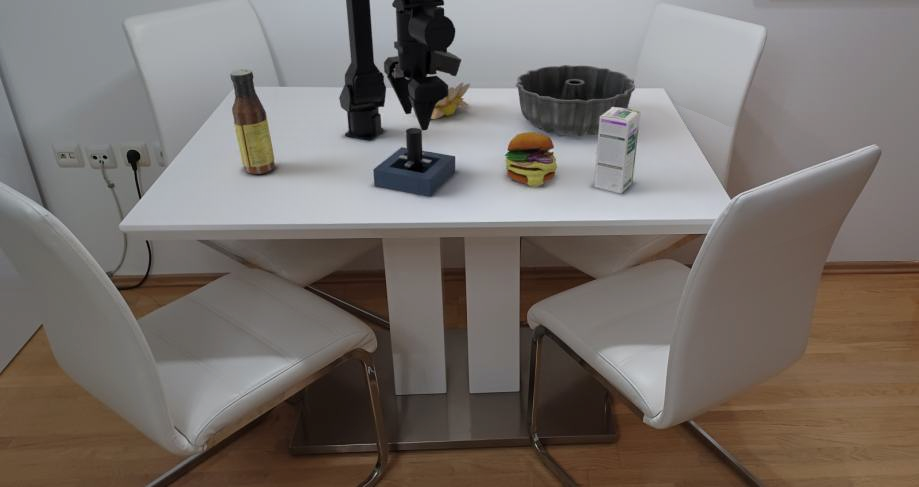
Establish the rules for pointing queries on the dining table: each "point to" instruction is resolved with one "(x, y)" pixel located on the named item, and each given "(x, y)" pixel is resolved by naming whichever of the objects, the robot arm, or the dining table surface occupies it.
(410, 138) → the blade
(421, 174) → the blue square frame
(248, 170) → the sauce bottle
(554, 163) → the cheeseburger
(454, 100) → the decorative flower
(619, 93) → the bundt pan
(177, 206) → the dining table surface
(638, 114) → the syrup box
